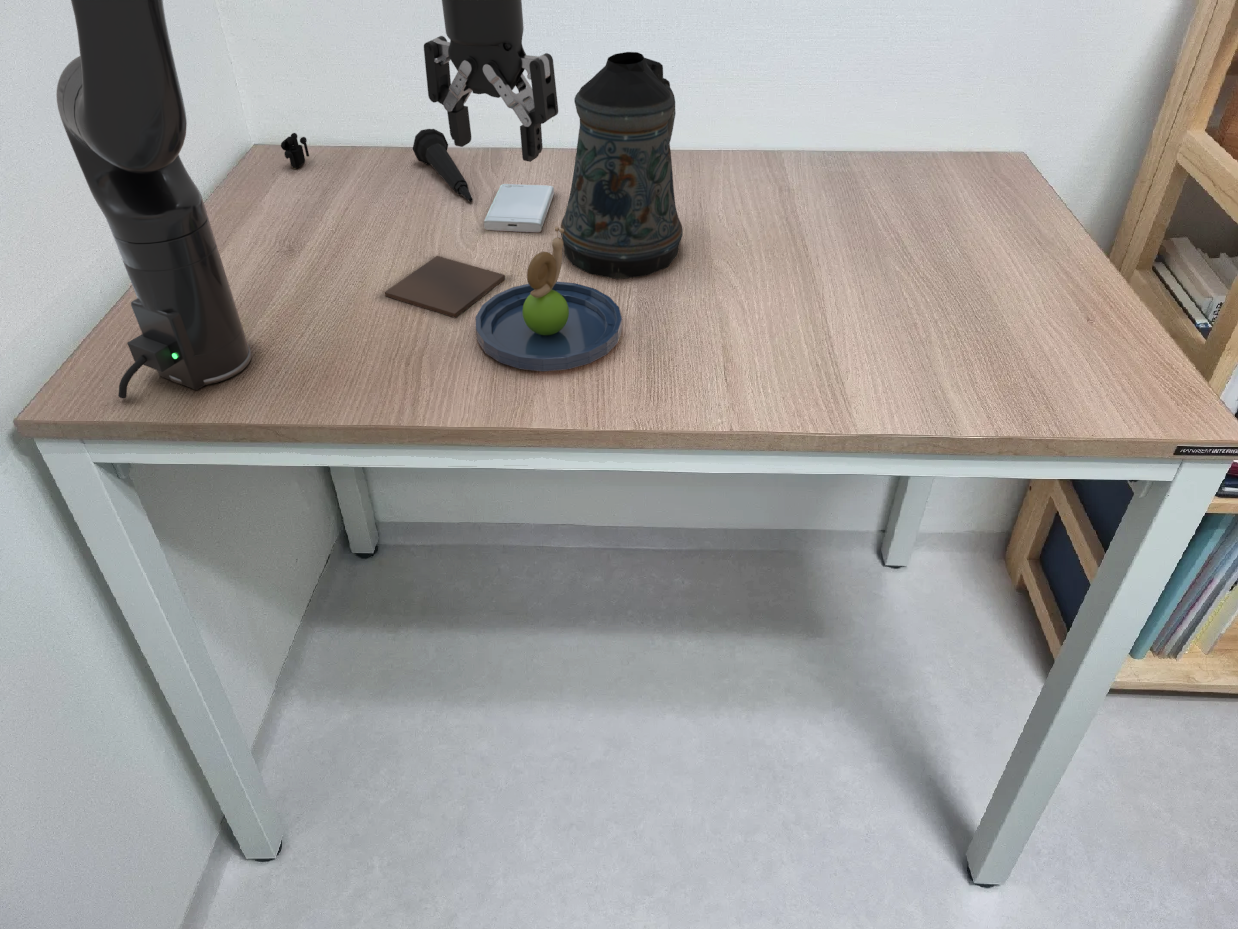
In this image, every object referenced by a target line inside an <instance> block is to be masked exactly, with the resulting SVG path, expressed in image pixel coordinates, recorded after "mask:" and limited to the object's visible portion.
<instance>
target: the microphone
mask: <svg viewBox="0 0 1238 929" xmlns="http://www.w3.org/2000/svg"><path fill="white" fill-rule="evenodd" d="M448 148H449V143H448V141H447V139H446V137H445V135H444V133H443V132H441V131H439V130H438V129H435V128H425V129H420V131H419V132H418V133H416V135H415V136H414V140H413V145H412V151H413V153H414V155H415V157H416V159H417V160H418V161H419V162H421V163H423V164H425V165H427V166H428V165H429V166H431V167H432V168H433V169H434V171H436V172H437V174H438V175H439V176H440V177H441V178H442V179H443V180H444V181H445V183H446V184H447V185H448V186H449V187H450V188H451V189H452V190H453V191H454V192H455V193H456V194H458V195H459V196H463V197H464V198H465V199H466V200H467V201H468V202H469V203H472V202H473V200H474V199H473V196H472V194H471V192H470V189H469V184H468V183H467V180H466V179H465V177H464V176H463V174H462V172H461V171H460V169H459V168H458V166H457V164H456V163H455V161H454V160H453V158H452V157H451V155H450V153H449V152H448Z"/></svg>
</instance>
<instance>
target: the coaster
mask: <svg viewBox="0 0 1238 929" xmlns="http://www.w3.org/2000/svg"><path fill="white" fill-rule="evenodd" d="M505 279H506V275H505V274H504V273H500V272H496V271H493V270H489V269H486V268H481V267H478V266H475V265H471V264H468V263H464V262H462V261H461V262H460V261H458V260H457V261H456V260H455V259H450V258H446V257H443V256H440V255H436V256H434V257H433V258H431V259H430V260H428V261H427V262H426V263H424V264H423V265H421V266H420V267H419V268H417V269H415V270H414V271H413V272H411V273H410V274H408V275H407V276H406V277H404V278H403V279H401V280H400V281H398V282H396V284H394V285H393V286H391V287H389V288H388V289H387V290H386V291H384V296H385V297H387V298H390V299H393V300H397V301H400V302H403V303H407V304H410V305H412V306H413V305H414V306H417V307H420V308H423V309H426V310H430V311H433V312H436V313H440V314H441V315H442V314H443V315H446V316H449V317H452V318H457V317H459V316H460V315H461V314H463V313H464V312H465V311H466V310H468V308H470V307H471V306H473V305H474V304H475V303H476V302H477V301H479V300H480V299H482V297H484V296H485V295H486V294H488V293H489V292H490V291H491V290H494V288H496V287H497V286H498V285H499V284H500V283H502V282H503V281H505Z"/></svg>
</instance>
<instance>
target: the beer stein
mask: <svg viewBox="0 0 1238 929" xmlns="http://www.w3.org/2000/svg"><path fill="white" fill-rule="evenodd" d="M573 100H574V105H575V110H576V114H577V116H578V119H579V129H578V136H577V144H576V151H575V157H574V158H575V159H574V167H573V173H572V179H571V185H570V186H571V187H570V191H569V196H568V200H567V205H566V209H565V212H564V215H563V218H562V219H561V222H560V228H563V229H564V232H563V233H560V238H561V239H562V240H563V243H564V244H563V251H564V256H565V257H566V258H567V259H568V261H569V262H570V263H571V265H572V266H573V267H576V268H577V269H579V270H581V271H583V272H586V273H587V274H589V275H594V276H599V277H604V278H610V279H615V280H620V279H629V278H637V277H645V276H650V275H652V274H654V273H657V272H660V271H661V270H664V269H666V268H669V266H670V265H671V264H672V263H673V262H674V260H675V259H676V258H677V257H678V252H679V247H680V244H681V241H682V237H683V226H682V222H681V220H680V218H679V215H678V209H677V206H676V197H675V189H674V188H675V187H674V174H673V162H672V161H673V160H672V152H671V151H672V150H671V141H672V135H673V131H674V126H675V125H674V124H675V118H676V98H675V94H674V92H673V89H672V88H671V83H670V81H669V80H668V79H667V78H664V65H663V64H662V63H661V62H659V61H656V60H653V59H651V58H647V57H645V56H644V55H643V54H642V53H640V52H637V51H624V52H619V53H615V54H612V55H610V56H608V57H607V59H606V62H605V65H604V66H603V67H602V68H601V69H600V70H599V71H598V72H597V73H596V74H594V76H593V77H591V78H590V79H589V80H588V81H586V83H585V84H583V85H582V86H581V87H580V89H579V90H578V92H577V93H576V94H575V96H574V99H573Z"/></svg>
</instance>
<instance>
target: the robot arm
mask: <svg viewBox="0 0 1238 929" xmlns="http://www.w3.org/2000/svg"><path fill="white" fill-rule="evenodd" d="M70 2H71V6H72V11H73V15H74V20H75V24H76V25H75V26H76V32H77V40H78V48H79V56H77V57H75V58H73V60H71V61H70V62H69V63H68V64H67V65H66V66H65V67H64V69H63V70H62V72H61V74H60V76H59V79H58V81H57V84H56V85H57V86H56V92H55V93H56V105H57V110H58V113H59V117H60V121H61V123H62V126H63V128H64V131H65V133H66V136H67V138H68V141H69V143H70V146H71V148H72V151H73V153H74V155H75V158H76V160H77V162H78V164H79V165H78V166H79V167H80V170H81V172H82V174H83V177H84V180H85V181H86V184H87V187H88V188H89V191H90V193H91V195H92V197H93V199H94V201H95V202H96V204H97V206H98V207H99V209H100V211H101V213H102V214H103V216H104V218H105V220H106V222H107V225H108V227H109V229H110V232H111V234H112V237H113V239H114V242H115V244H116V247H117V250H118V252H119V254H120V255H119V256H120V258H121V260H122V263H123V265H124V268H125V271H126V273H127V276H128V278H129V280H130V283H131V286H132V289H133V291H134V293H135V296H136V298H135V299H133V300H131V302H130V306H131V309H132V311H133V314H134V317H135V319H136V322H137V325H138V327H139V329H140V332H141V334H139V335H138V336H136V337H134V338H133V339H131V340H129V341H127V343H126V344H127V346H128V350H129V351H130V354H131V356H132V358H133V361H134V362H133V363H132V364H131V365H130V366H129V368H128V369H127V370H126V371H125V373H124V374H123V376H122V377H121V378H120V381H119V386H118V398H120V399H126V398H127V395H128V394H127V392H128V386H129V383H130V381H131V379H132V378H133V376H135V374H136V373H137V372H138V371H139V370H140V369H141V367H143V366H145V367H148V368H151V369H153V370H156V372H157V374H158V376H159V377H162V378H164V379H167V380H168V381H172V382H173V383H176V384H179V385H182V386H185V387H187V388H189V389H192V390H195V391H197V390H200V389H201V388H203V387H205V386H207V385H213V384H217V383H219V382H223V381H225V380H228V379H230V378H233V377H235V376H236V375H238V374H239V373H241V372H242V371H243V370H245V368H246V367H247V366H248V365H249V363H250V362H251V360H252V357H253V356H252V354H253V353H252V350H251V347H250V345H249V343H248V340H247V337H246V334H245V331H244V328H243V324H242V321H241V319H240V318H241V317H240V315H239V311H238V309H237V305H236V302H235V298H234V296H233V292H232V290H231V286H230V283H229V279H228V276H227V274H226V271H225V270H226V269H225V266H224V263H223V261H222V258H221V254H220V251H219V247H218V244H217V241H216V238H215V233H214V232H213V228H212V225H211V222H210V218H209V215H208V212H207V208H206V205H205V202H204V199H203V196H202V194H201V192H200V190H199V188H198V186H197V184H195V182H194V180H193V179H192V177H191V176H190V174H189V173H188V171H187V169H186V167H185V165H184V163H183V161H182V159H181V157H180V153H181V150H182V149H183V147H184V144H185V140H186V136H187V128H188V121H187V112H186V107H185V101H184V96H183V93H182V88H181V84H180V80H179V75H178V71H177V66H176V62H175V59H174V54H173V49H172V44H171V40H170V36H169V30H168V25H167V19H166V13H165V7H164V0H70ZM441 4H442V12H443V13H442V15H443V21H444V28H445V34H446V37H447V38H448V39H449V40H450V41H448V40H447V38H446V37H445V36H443V35H439V36H437V37H435V38H433V39H431V40H429V41H427V42H424V44H423V55H424V56H423V57H424V63H425V64H424V66H425V76H426V86H427V97H428V99H429V101H430V102H432V103H439V104H440V105H442V106H443V109H445V111H446V113H447V121H448V128H449V134H450V137H451V140H453V143H454V146H456V147H460V148H463V147H465V146H466V145H468V144H470V143H471V141H472V130H471V121H470V112H469V106H468V105H465V104H466V103H467V101H468V99H469V97H470V96H471V94H475V95H484V94H485V95H487V96H489V97H491V98H496V99H500V98H501V99H502V101H503V103H504V104H505V105H506V107H507V108H508V109H512V110H513V112H514V114H515V115H516V117H517V118H518V120H519V121H520V123H521V125H520V126H519V130H520V131H519V132H520V147H521V156H522V161H524V162H529V163H531V162H533V161H534V160H536V159H537V158H538V157H539V155H540V153H542V152H543V148H544V146H543V133H542V124H543V125H544V124H546V122H548V121H549V120H551V119H552V118H554V117H556V116H557V115H558V114H559V103H558V92H557V84H556V74H555V67H554V66H555V64H554V58H553V56H552V55H551V54H550V53H547V52H546V53H543V54H541V55H538V56H537V55H530V54H529V55H527V53H526V50H525V49H524V46H523V36H524V16H523V5H522V0H441ZM450 62H451V63H452V64H453V67H455V69H456V71H457V72H456V74H455V76H454V78H453V80H452V79H451V69H450ZM524 72H526V73H527V75H526V76H525V75H524ZM451 80H452V81H451ZM528 80H530V82H531V84H530V83H529V81H528ZM515 88H516V89H517V91H518V92H517V93H515V92H514V91H513V90H514V89H515Z"/></svg>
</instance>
